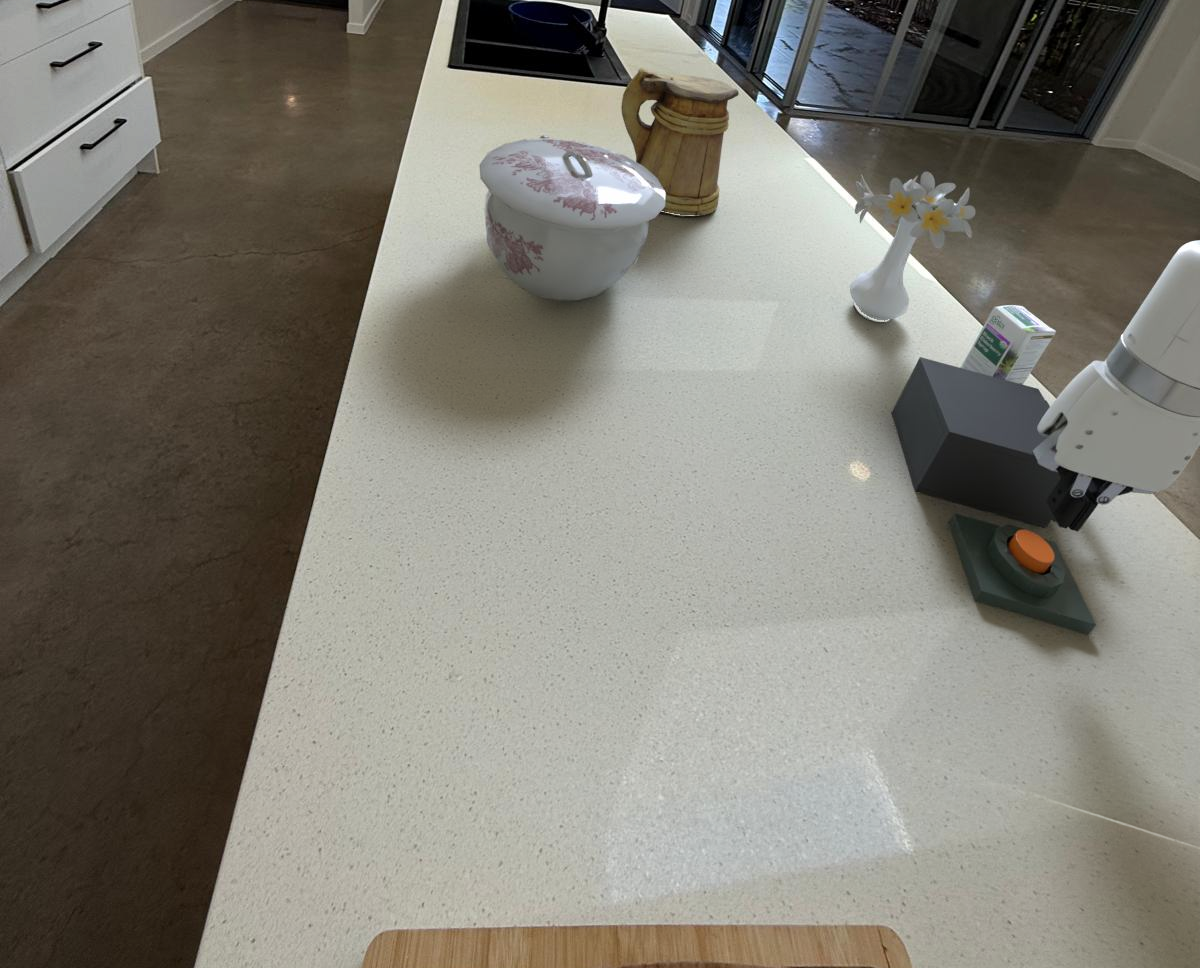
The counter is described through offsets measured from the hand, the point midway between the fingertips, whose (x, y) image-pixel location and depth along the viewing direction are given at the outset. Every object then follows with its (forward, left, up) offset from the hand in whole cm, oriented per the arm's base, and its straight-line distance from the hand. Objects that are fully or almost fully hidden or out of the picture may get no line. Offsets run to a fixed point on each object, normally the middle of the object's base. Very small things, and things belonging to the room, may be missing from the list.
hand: (1061, 516), depth 65 cm
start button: (0, 0, -6) cm, 6 cm away
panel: (0, 0, -10) cm, 10 cm away
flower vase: (+7, -44, -10) cm, 46 cm away
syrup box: (-6, -29, -10) cm, 31 cm away
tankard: (+45, -68, -10) cm, 82 cm away
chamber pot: (+58, -32, -10) cm, 67 cm away
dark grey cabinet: (+1, -14, -10) cm, 17 cm away
